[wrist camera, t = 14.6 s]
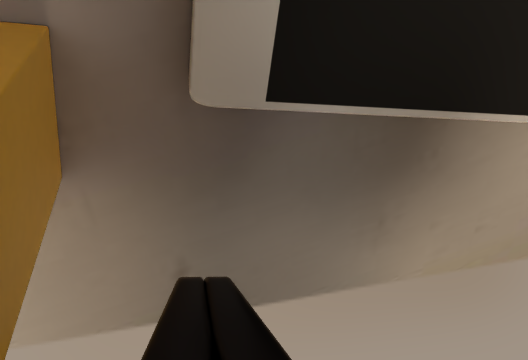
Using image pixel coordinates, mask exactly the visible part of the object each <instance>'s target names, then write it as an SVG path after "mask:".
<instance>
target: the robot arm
mask: <svg viewBox="0 0 528 360" xmlns="http://www.w3.org/2000/svg"><path fill="white" fill-rule="evenodd" d="M141 360H292V359H291V358H290V357H289V356H288V354H287V353H286V352H285V350H284V349H283V348H282V346H281V345H280V344H279V342H278V341H277V340H276V338H275V337H274V336H273V334H272V333H271V332H270V330H269V329H268V328H267V327H266V325H265V324H264V323H263V322H262V320H261V319H260V317H259V316H258V315H257V313H256V312H255V311H254V309H253V308H252V307H251V305H250V304H249V303H248V301H247V300H246V299H245V297H244V296H243V295H242V293H241V292H240V291H239V289H238V288H237V287H236V286H235V284H234V283H233V282H232V280H231V279H230V278H228V277H207V278H205V279H204V280H203V279H202V278H201V277H181V278H179V279H178V280H177V282H176V284H175V286H174V288H173V291H172V293H171V295H170V297H169V299H168V302H167V304H166V306H165V308H164V310H163V313H162V315H161V317H160V319H159V321H158V324H157V326H156V328H155V331H154V333H153V335H152V337H151V339H150V341H149V344H148V346H147V348H146V350H145V352H144V355H143V357H142V359H141Z"/></svg>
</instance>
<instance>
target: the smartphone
mask: <svg viewBox="0 0 528 360" xmlns="http://www.w3.org/2000/svg"><path fill="white" fill-rule="evenodd" d="M189 92H190V96H191V99H192V100H193V101H195V102H196V103H198V104H201V105H204V106H209V107H219V108H239V109H259V110H279V111H299V112H319V113H339V114H359V115H379V116H399V117H419V118H439V119H459V120H479V121H499V122H519V123H528V0H193V8H192V27H191V46H190V65H189Z"/></svg>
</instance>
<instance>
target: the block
mask: <svg viewBox="0 0 528 360" xmlns="http://www.w3.org/2000/svg"><path fill="white" fill-rule="evenodd" d="M61 179H62V173H61V162H60V151H59V140H58V129H57V117H56V106H55V95H54V84H53V72H52V61H51V50H50V39H49V29H48V27H47V26H41V25H30V24H19V23H9V22H0V360H5V356H6V353H7V350H8V347H9V344H10V341H11V338H12V334H13V331H14V328H15V325H16V322H17V319H18V315H19V312H20V309H21V306H22V303H23V300H24V296H25V293H26V290H27V287H28V284H29V281H30V277H31V274H32V271H33V268H34V265H35V261H36V258H37V255H38V252H39V249H40V246H41V242H42V239H43V236H44V233H45V230H46V227H47V223H48V220H49V217H50V214H51V211H52V208H53V204H54V201H55V198H56V195H57V192H58V189H59V185H60V182H61Z"/></svg>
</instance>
